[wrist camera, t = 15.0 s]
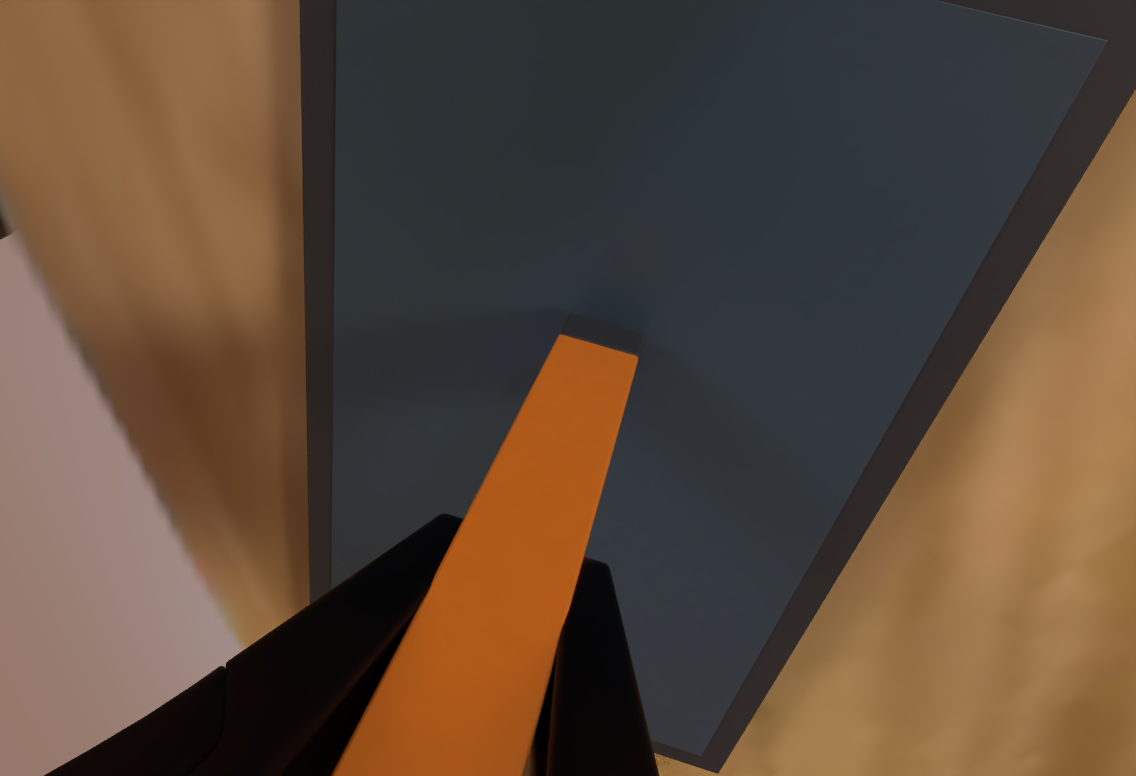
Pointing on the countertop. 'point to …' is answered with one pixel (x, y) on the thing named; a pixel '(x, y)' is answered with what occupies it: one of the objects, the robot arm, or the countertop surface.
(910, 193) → the tablet
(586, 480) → the stylus
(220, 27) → the countertop surface
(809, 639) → the countertop surface
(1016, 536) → the countertop surface
